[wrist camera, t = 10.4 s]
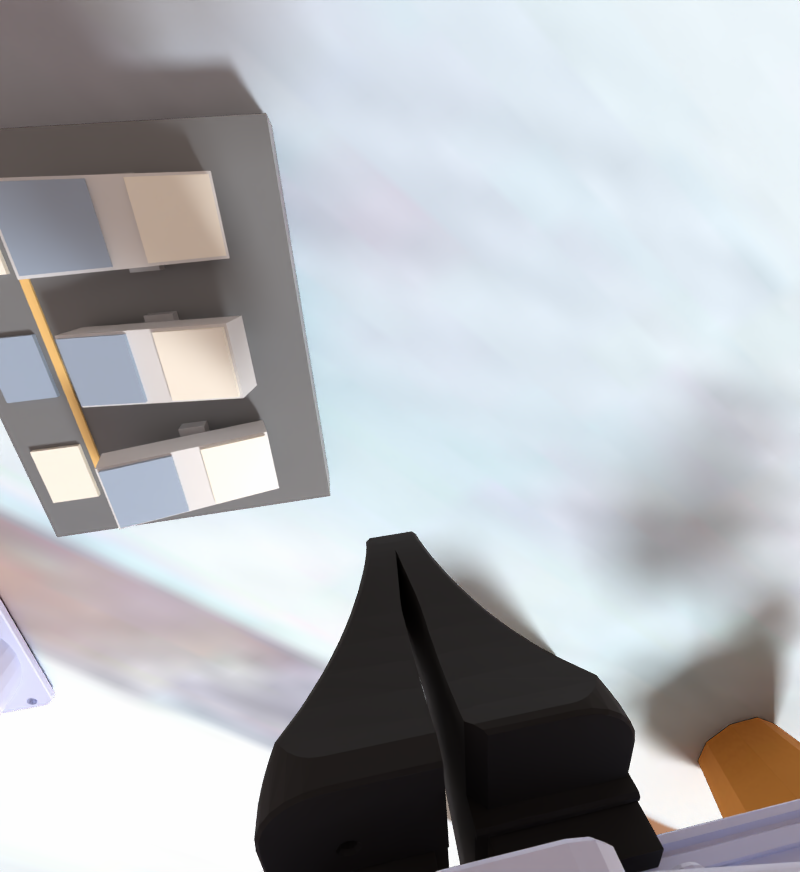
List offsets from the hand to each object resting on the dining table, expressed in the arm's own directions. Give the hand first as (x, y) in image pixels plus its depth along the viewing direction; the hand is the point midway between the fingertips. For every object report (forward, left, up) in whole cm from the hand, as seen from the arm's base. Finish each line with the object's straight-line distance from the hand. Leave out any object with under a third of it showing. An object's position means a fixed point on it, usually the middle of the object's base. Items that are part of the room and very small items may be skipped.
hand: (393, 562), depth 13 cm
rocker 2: (-7, +5, -7) cm, 11 cm away
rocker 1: (-7, +10, -7) cm, 14 cm away
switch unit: (-8, +5, -10) cm, 14 cm away
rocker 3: (-7, 0, -7) cm, 10 cm away
